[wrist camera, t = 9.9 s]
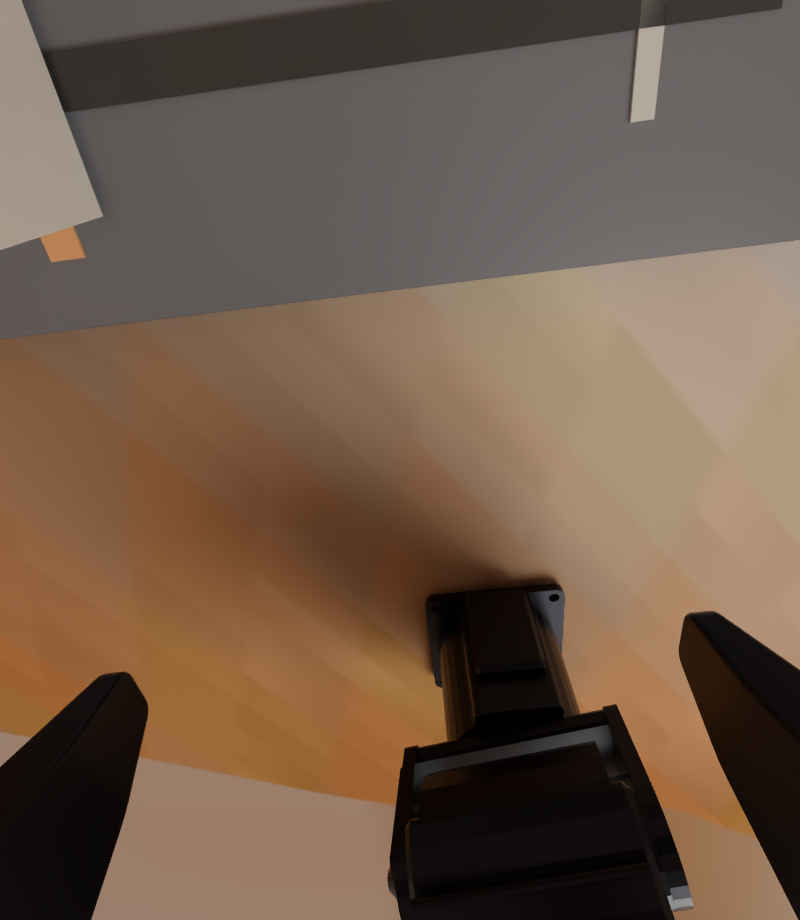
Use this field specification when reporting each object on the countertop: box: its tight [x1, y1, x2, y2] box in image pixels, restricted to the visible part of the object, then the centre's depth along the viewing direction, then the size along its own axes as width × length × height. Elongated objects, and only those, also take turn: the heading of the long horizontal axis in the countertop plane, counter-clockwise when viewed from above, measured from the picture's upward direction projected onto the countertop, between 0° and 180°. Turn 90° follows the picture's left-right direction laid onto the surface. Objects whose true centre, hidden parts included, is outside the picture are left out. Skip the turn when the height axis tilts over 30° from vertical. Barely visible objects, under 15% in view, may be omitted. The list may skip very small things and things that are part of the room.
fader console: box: [0, 0, 800, 339], centre depth 14 cm, size 12×30×2 cm, turn 97°
